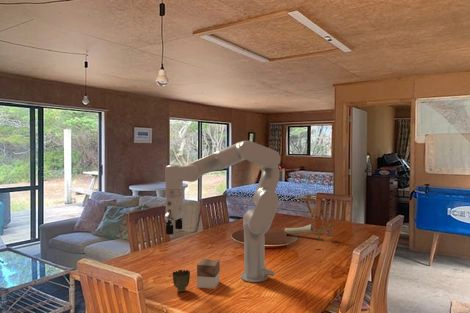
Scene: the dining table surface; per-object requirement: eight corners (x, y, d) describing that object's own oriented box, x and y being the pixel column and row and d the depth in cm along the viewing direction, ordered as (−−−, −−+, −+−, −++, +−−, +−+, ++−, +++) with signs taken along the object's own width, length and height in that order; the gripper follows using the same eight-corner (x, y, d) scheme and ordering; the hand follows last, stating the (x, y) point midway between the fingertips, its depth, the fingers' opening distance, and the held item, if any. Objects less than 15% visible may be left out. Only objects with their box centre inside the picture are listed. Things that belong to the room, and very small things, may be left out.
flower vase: (290, 245, 241) (340, 240, 223) (283, 243, 232) (333, 238, 214) (289, 228, 246) (337, 222, 227) (281, 225, 236) (331, 219, 218)
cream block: (219, 282, 156) (219, 271, 156) (214, 289, 148) (214, 277, 148) (202, 280, 158) (202, 269, 157) (196, 287, 150) (196, 276, 150)
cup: (172, 288, 149) (171, 269, 148) (189, 286, 150) (189, 268, 150) (173, 295, 141) (172, 276, 141) (191, 293, 143) (190, 274, 143)
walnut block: (219, 271, 156) (219, 260, 156) (215, 277, 148) (214, 265, 148) (202, 269, 157) (202, 259, 157) (197, 276, 150) (197, 264, 150)
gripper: (173, 195, 143) (174, 236, 144) (189, 190, 160) (189, 227, 160) (157, 195, 145) (157, 235, 145) (174, 190, 162) (174, 226, 162)
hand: (174, 231), depth 153 cm, fingers open, 9 cm apart
